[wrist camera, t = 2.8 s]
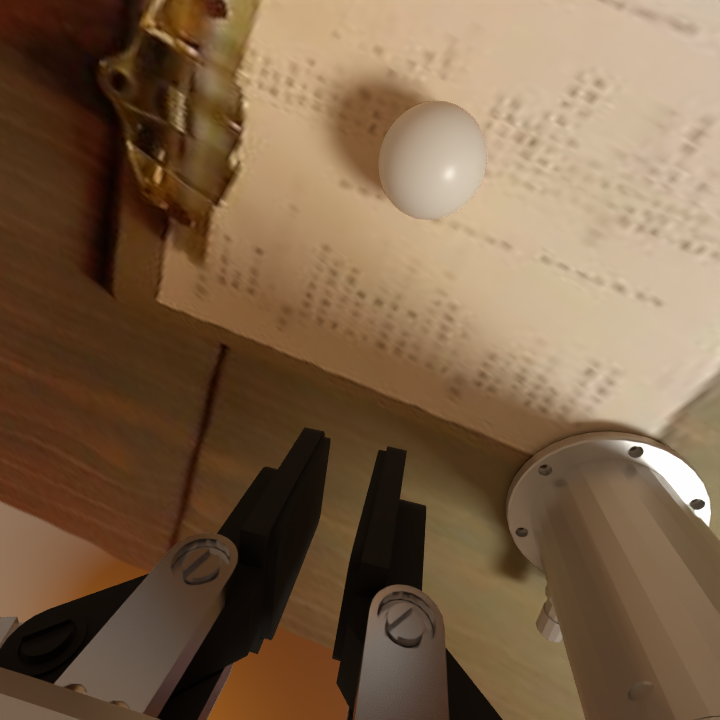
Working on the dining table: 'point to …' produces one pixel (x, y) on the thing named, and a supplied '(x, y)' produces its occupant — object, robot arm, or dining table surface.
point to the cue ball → (432, 160)
